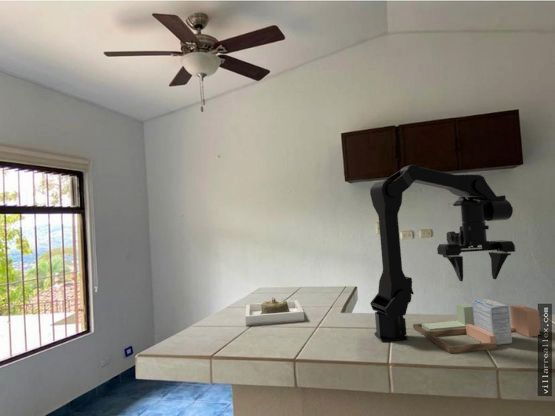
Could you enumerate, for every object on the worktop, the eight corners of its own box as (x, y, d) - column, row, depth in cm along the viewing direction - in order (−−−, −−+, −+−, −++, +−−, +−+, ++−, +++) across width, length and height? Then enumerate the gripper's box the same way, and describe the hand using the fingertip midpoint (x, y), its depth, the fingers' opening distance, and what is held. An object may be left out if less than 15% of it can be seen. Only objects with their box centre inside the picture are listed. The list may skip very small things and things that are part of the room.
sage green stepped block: (430, 334, 100) (428, 311, 100) (422, 329, 105) (420, 306, 105) (478, 330, 101) (476, 307, 101) (467, 325, 106) (465, 302, 106)
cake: (287, 318, 127) (285, 301, 126) (257, 319, 128) (255, 303, 128) (292, 308, 136) (290, 293, 136) (263, 309, 138) (262, 294, 138)
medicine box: (512, 344, 90) (509, 305, 90) (494, 345, 90) (490, 307, 90) (492, 334, 98) (489, 298, 98) (474, 335, 97) (471, 300, 98)
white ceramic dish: (245, 325, 121) (245, 316, 121) (246, 312, 139) (246, 304, 139) (304, 320, 122) (303, 311, 122) (297, 308, 140) (297, 300, 140)
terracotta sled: (491, 346, 89) (488, 319, 89) (466, 334, 99) (464, 309, 99) (554, 341, 90) (552, 314, 90) (523, 329, 100) (521, 305, 100)
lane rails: (449, 353, 87) (449, 347, 87) (413, 328, 106) (412, 324, 106) (497, 348, 87) (496, 343, 87) (452, 325, 107) (451, 320, 107)
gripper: (490, 220, 116) (494, 274, 115) (427, 224, 115) (431, 278, 114) (514, 220, 104) (519, 279, 104) (444, 224, 104) (449, 284, 103)
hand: (477, 280), depth 107 cm, fingers open, 9 cm apart
